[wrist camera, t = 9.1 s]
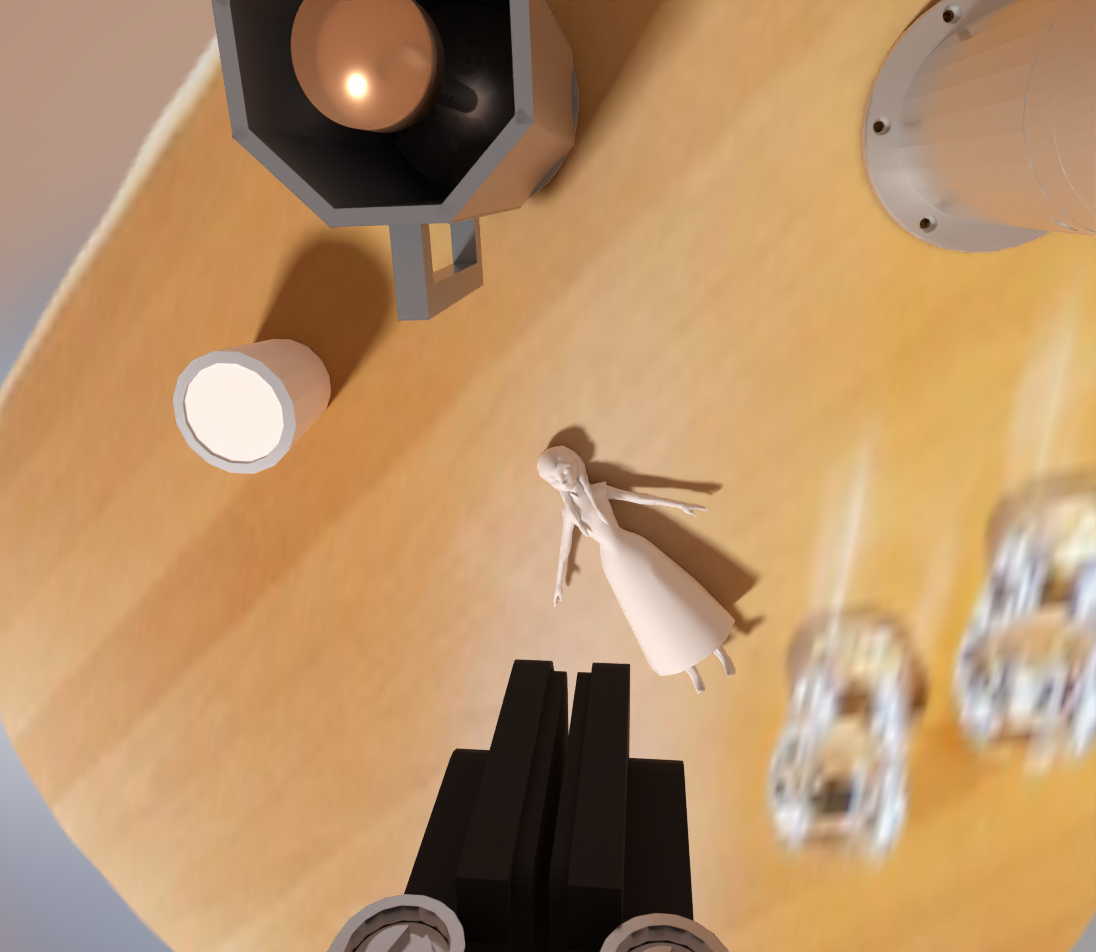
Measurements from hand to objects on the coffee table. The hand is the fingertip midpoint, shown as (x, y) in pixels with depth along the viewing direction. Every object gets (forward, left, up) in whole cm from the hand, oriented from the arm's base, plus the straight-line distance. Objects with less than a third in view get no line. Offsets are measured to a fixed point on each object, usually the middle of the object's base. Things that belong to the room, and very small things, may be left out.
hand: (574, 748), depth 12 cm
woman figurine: (0, +15, -38) cm, 40 cm away
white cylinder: (+21, +3, -37) cm, 43 cm away
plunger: (+8, -12, -34) cm, 37 cm away
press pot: (+8, -10, -37) cm, 39 cm away
